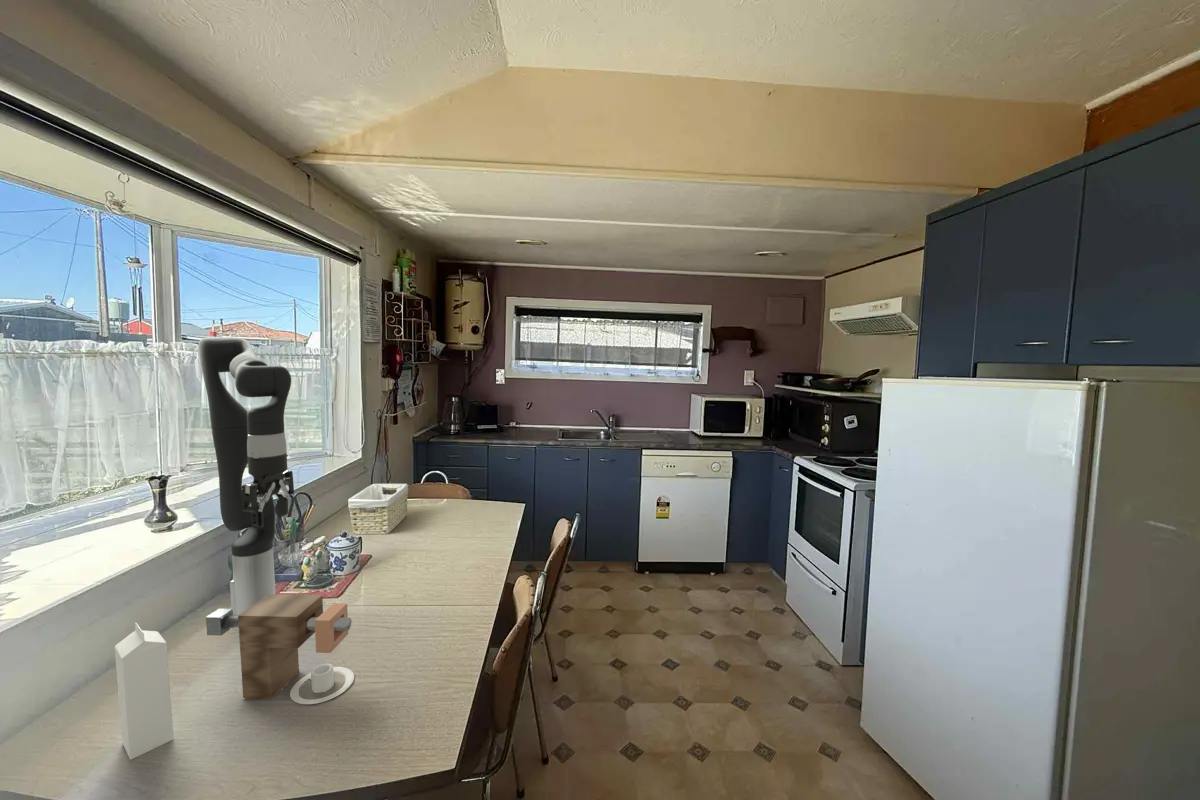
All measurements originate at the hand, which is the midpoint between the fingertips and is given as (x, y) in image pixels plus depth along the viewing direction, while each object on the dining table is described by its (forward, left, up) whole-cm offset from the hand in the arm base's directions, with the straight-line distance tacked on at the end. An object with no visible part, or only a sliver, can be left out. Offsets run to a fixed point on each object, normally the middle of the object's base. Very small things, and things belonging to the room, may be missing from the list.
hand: (270, 520), depth 115 cm
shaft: (+9, -12, -20) cm, 25 cm away
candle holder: (+18, -12, -33) cm, 39 cm away
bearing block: (+10, -12, -32) cm, 36 cm away
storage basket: (-15, +86, -32) cm, 93 cm away
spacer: (+20, -12, -22) cm, 33 cm away
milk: (-5, -28, -32) cm, 43 cm away
